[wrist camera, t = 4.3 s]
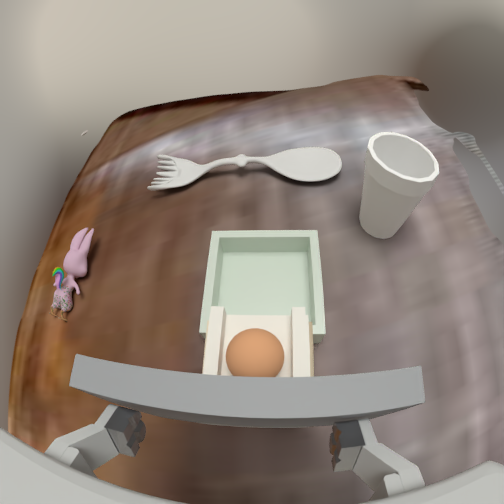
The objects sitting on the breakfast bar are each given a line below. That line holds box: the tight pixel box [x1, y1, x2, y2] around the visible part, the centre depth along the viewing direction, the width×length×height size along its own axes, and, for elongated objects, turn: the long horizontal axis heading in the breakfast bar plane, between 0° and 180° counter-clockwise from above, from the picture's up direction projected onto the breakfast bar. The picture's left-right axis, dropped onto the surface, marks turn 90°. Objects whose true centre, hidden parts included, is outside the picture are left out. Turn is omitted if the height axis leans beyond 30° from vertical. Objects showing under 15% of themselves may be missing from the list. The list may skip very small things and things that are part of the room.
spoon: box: [148, 147, 342, 191], centre depth 46 cm, size 9×32×4 cm, turn 92°
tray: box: [199, 230, 325, 344], centre depth 33 cm, size 13×13×4 cm
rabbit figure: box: [49, 228, 94, 321], centre depth 36 cm, size 6×6×15 cm
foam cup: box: [359, 132, 439, 239], centre depth 34 cm, size 10×9×13 cm
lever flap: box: [69, 306, 425, 428], centre depth 16 cm, size 9×14×12 cm, turn 88°
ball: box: [226, 328, 284, 377], centre depth 19 cm, size 4×4×4 cm
